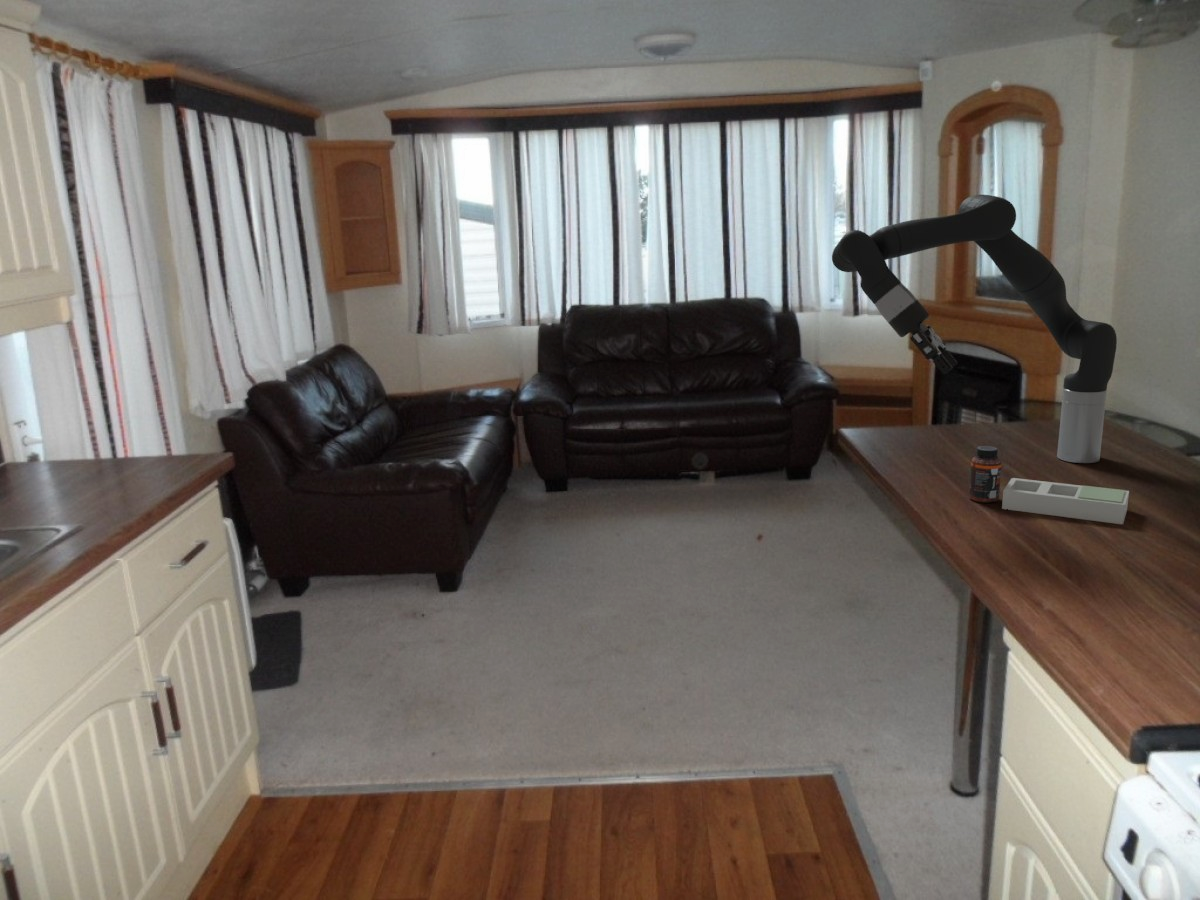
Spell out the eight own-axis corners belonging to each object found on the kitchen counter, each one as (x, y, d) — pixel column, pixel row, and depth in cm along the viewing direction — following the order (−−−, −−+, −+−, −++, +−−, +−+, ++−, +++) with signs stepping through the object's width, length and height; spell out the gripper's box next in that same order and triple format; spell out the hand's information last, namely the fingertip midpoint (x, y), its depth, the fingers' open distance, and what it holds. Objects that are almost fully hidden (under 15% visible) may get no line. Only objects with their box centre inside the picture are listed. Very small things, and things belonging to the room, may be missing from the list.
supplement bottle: (1001, 504, 197) (1005, 451, 195) (971, 503, 199) (974, 451, 196) (995, 495, 203) (999, 444, 200) (966, 494, 204) (969, 444, 201)
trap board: (1010, 495, 203) (1012, 476, 202) (1127, 509, 191) (1129, 489, 190) (1001, 508, 194) (1003, 488, 193) (1123, 524, 183) (1125, 503, 182)
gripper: (910, 300, 193) (962, 362, 191) (921, 296, 205) (969, 353, 203) (881, 324, 196) (932, 385, 194) (893, 318, 209) (941, 375, 207)
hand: (951, 368), depth 199 cm, fingers open, 8 cm apart
